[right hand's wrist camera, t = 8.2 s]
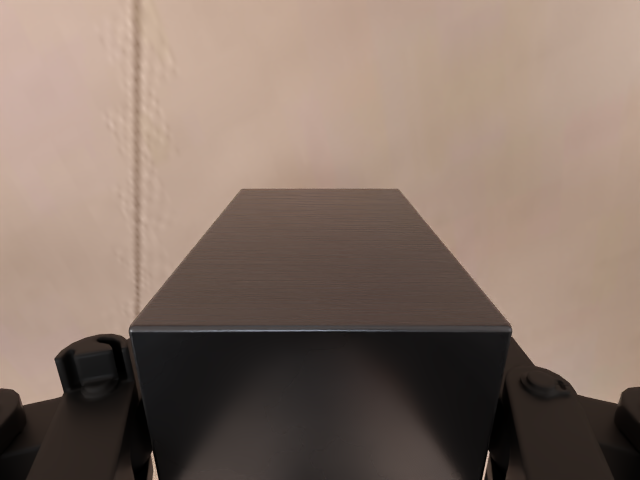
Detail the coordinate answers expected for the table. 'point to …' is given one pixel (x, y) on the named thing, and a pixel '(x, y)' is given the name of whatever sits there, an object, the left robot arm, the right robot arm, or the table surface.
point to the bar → (320, 346)
